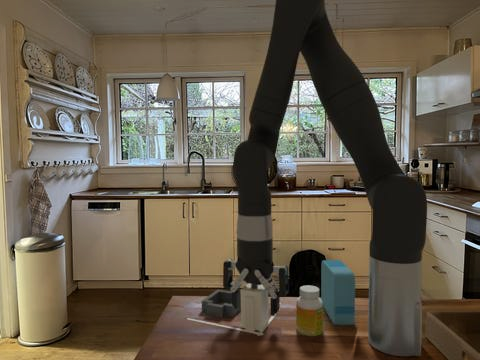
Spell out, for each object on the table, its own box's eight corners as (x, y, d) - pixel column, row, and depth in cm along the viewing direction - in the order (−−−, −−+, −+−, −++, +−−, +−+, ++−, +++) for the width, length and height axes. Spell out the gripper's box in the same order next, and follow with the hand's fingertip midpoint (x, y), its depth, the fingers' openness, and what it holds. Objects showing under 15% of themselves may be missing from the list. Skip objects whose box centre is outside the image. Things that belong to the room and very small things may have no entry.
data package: (354, 329, 74) (355, 274, 74) (333, 329, 74) (334, 274, 74) (339, 306, 86) (339, 258, 86) (321, 306, 86) (321, 258, 86)
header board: (282, 313, 82) (282, 308, 82) (261, 341, 70) (261, 336, 70) (215, 301, 90) (215, 297, 90) (185, 324, 77) (185, 320, 77)
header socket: (253, 305, 85) (253, 295, 85) (237, 321, 76) (237, 310, 76) (217, 299, 89) (217, 289, 89) (198, 313, 80) (198, 302, 80)
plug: (268, 322, 76) (267, 278, 75) (259, 333, 71) (258, 286, 70) (249, 318, 78) (248, 276, 77) (239, 329, 72) (238, 284, 72)
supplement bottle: (321, 343, 69) (321, 294, 68) (293, 338, 71) (293, 291, 70) (324, 330, 74) (324, 285, 73) (298, 326, 76) (299, 282, 75)
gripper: (292, 234, 74) (292, 310, 75) (231, 229, 80) (232, 299, 81) (282, 242, 67) (282, 324, 68) (216, 236, 73) (217, 312, 74)
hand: (255, 311), depth 74 cm, fingers open, 8 cm apart
